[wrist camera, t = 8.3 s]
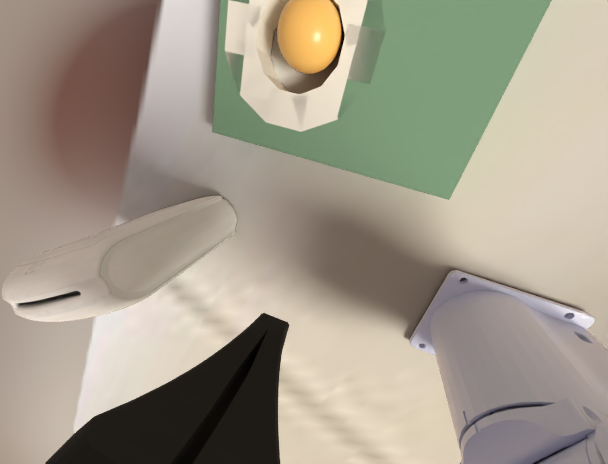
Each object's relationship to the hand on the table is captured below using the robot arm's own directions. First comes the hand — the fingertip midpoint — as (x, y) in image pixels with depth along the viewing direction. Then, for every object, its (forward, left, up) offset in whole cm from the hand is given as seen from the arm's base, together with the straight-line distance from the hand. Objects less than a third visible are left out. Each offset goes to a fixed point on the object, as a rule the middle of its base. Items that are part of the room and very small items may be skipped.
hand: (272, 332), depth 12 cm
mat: (+1, -13, -10) cm, 16 cm away
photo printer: (+12, +2, -10) cm, 16 cm away
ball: (+3, -13, -8) cm, 16 cm away
